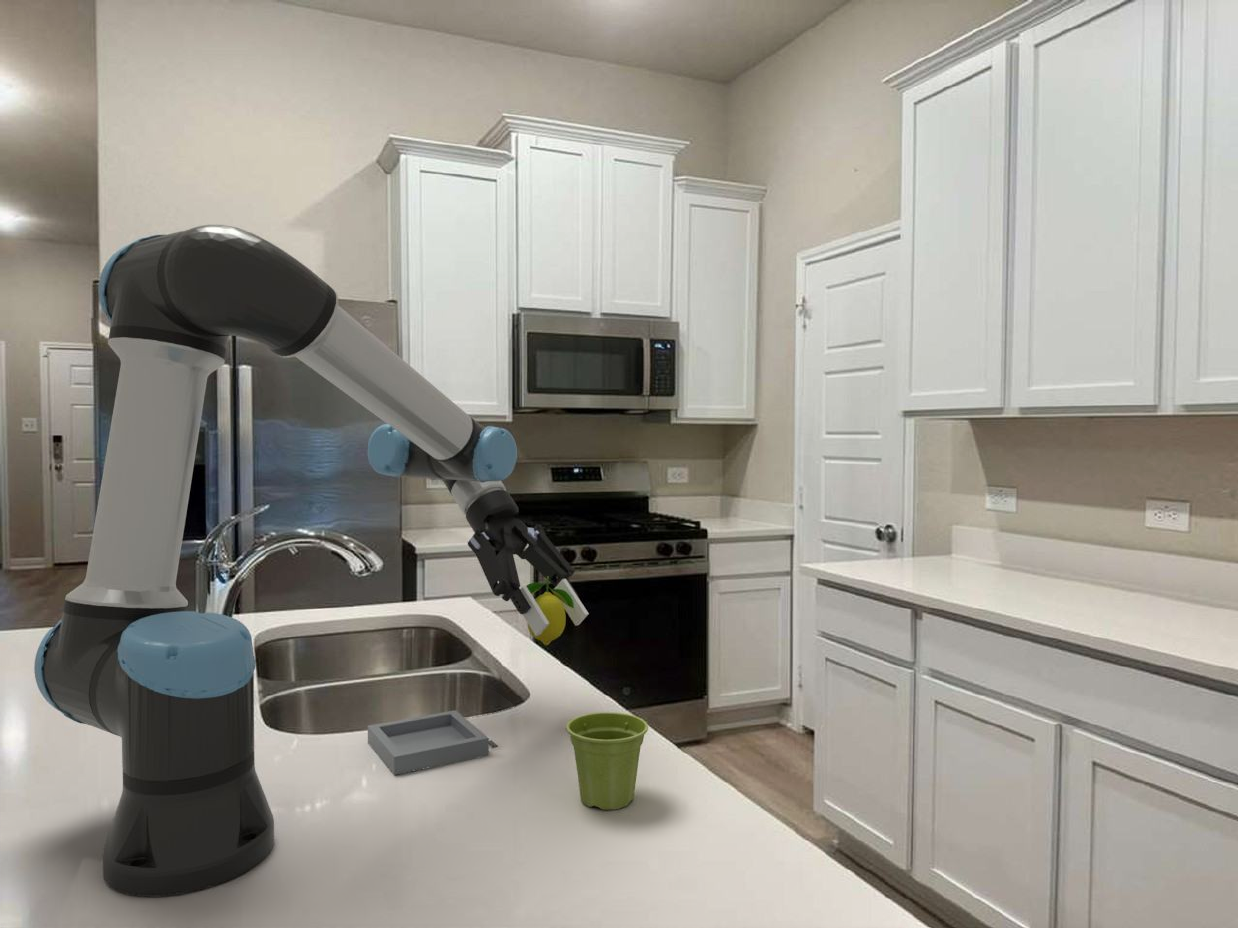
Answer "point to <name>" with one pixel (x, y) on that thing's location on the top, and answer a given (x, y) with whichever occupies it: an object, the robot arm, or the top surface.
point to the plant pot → (607, 756)
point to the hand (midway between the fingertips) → (562, 624)
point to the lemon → (551, 611)
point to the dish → (427, 741)
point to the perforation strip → (492, 743)
